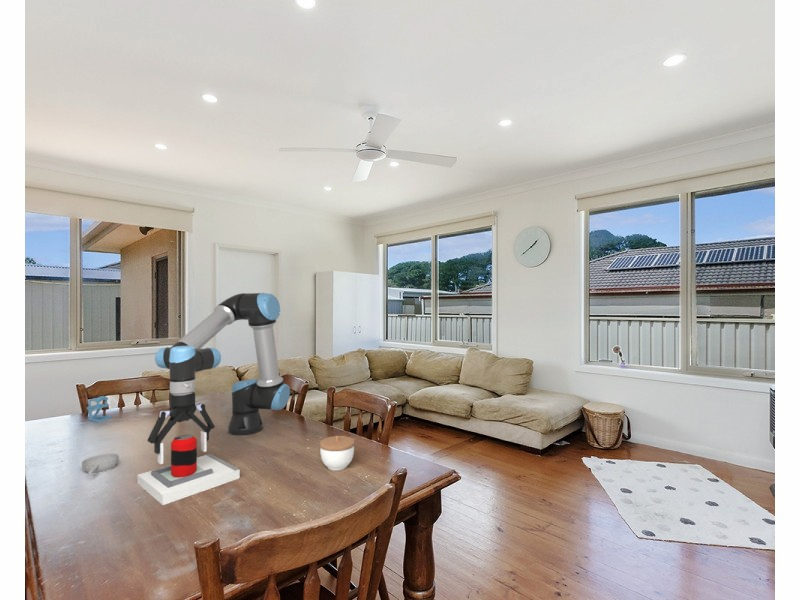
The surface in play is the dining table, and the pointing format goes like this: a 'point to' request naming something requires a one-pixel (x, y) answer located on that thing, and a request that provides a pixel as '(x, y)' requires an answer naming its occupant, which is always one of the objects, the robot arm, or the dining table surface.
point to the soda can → (183, 455)
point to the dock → (187, 479)
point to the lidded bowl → (337, 451)
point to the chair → (97, 409)
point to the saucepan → (100, 463)
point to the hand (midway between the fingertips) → (182, 456)
